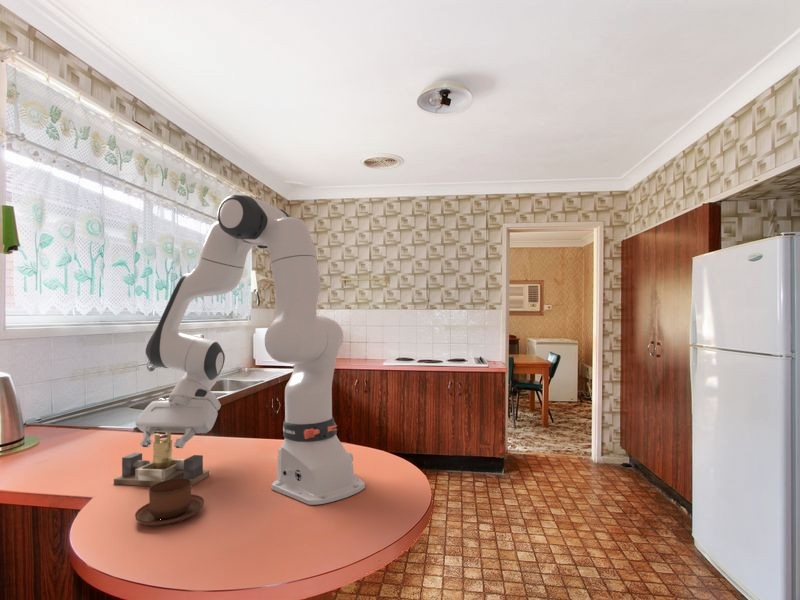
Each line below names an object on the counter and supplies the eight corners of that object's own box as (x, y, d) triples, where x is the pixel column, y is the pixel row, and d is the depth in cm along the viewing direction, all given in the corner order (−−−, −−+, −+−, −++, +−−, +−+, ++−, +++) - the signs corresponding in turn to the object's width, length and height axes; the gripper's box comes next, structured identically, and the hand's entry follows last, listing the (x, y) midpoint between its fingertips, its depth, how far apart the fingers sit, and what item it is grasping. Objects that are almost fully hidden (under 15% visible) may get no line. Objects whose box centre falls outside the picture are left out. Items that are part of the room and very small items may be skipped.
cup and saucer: (126, 519, 83) (126, 487, 83) (190, 498, 92) (190, 469, 92) (146, 539, 75) (146, 503, 75) (214, 514, 84) (214, 483, 84)
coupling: (173, 474, 103) (173, 433, 103) (155, 479, 100) (154, 436, 101) (170, 470, 106) (170, 430, 106) (152, 474, 103) (152, 433, 104)
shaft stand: (209, 475, 105) (209, 452, 105) (187, 488, 97) (187, 463, 97) (140, 472, 109) (140, 450, 109) (113, 484, 101) (113, 460, 101)
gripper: (147, 391, 113) (116, 438, 103) (216, 391, 109) (191, 441, 99) (160, 404, 117) (131, 451, 107) (226, 405, 113) (203, 454, 103)
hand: (160, 446), depth 103 cm, fingers open, 8 cm apart
